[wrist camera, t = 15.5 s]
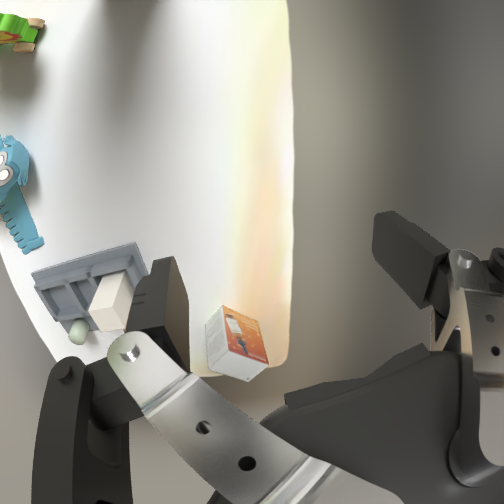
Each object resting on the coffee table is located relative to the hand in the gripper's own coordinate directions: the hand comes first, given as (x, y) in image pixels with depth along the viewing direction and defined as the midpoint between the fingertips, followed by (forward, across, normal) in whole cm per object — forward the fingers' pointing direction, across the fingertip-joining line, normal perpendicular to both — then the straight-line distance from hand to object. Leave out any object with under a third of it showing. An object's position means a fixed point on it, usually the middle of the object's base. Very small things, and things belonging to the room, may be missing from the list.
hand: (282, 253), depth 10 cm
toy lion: (+28, +27, -28) cm, 48 cm away
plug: (+27, +20, +16) cm, 37 cm away
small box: (+27, +4, +30) cm, 41 cm away
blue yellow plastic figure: (+28, +34, -7) cm, 45 cm away
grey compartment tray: (+27, +26, +18) cm, 42 cm away
